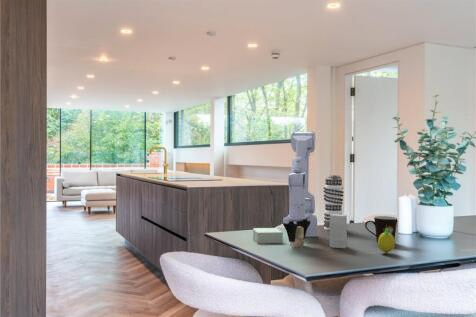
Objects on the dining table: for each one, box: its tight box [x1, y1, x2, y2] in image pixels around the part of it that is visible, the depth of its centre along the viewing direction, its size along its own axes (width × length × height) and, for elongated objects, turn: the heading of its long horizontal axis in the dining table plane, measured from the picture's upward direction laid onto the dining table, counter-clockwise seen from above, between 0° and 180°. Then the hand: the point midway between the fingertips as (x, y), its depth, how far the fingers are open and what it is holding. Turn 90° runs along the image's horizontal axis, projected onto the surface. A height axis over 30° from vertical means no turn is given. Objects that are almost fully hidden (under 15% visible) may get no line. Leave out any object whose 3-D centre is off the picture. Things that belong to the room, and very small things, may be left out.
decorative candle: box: [322, 174, 344, 231], centre depth 195 cm, size 9×9×25 cm
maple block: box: [289, 226, 304, 248], centre depth 157 cm, size 4×4×7 cm
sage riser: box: [252, 227, 284, 244], centre depth 167 cm, size 10×10×4 cm
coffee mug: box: [364, 215, 398, 244], centre depth 164 cm, size 12×9×10 cm
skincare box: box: [329, 214, 348, 249], centre depth 156 cm, size 6×4×12 cm
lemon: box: [377, 225, 396, 255], centre depth 145 cm, size 7×6×10 cm
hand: (296, 240), depth 157 cm, fingers closed on maple block, 6 cm apart
